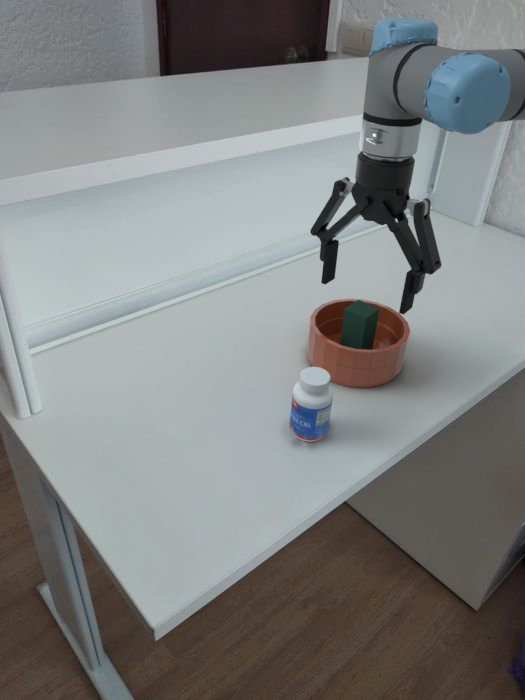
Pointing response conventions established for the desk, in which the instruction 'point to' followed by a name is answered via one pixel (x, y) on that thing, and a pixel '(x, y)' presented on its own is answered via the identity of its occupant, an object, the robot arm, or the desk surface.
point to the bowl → (357, 363)
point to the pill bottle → (311, 405)
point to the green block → (359, 325)
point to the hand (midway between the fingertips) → (365, 295)
